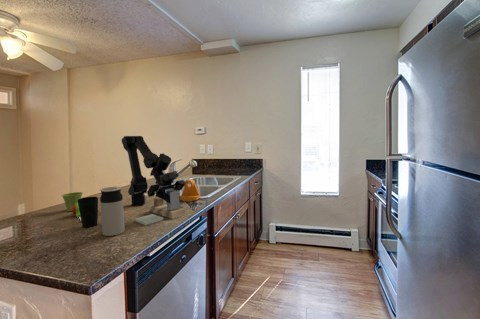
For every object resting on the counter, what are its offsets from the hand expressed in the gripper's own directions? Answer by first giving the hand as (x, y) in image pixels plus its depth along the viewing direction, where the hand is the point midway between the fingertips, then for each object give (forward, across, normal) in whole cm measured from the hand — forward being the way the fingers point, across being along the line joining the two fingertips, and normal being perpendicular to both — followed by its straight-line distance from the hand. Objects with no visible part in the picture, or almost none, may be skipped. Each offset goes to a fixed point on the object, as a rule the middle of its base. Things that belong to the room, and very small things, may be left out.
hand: (174, 201), depth 123 cm
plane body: (0, 0, +10) cm, 10 cm away
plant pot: (-33, -27, +43) cm, 60 cm away
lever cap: (+2, 0, +4) cm, 4 cm away
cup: (-8, -31, +18) cm, 37 cm away
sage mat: (+2, -11, +8) cm, 14 cm away
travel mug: (+4, -28, +6) cm, 29 cm away
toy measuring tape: (-20, -29, +31) cm, 47 cm away
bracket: (-9, +24, +19) cm, 32 cm away
